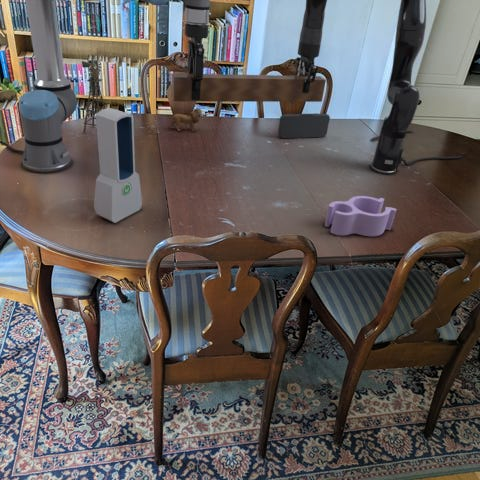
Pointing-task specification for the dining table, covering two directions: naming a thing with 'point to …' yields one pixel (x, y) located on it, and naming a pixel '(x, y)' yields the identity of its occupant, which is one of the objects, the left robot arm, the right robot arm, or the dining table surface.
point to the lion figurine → (187, 119)
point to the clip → (359, 216)
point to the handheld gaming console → (303, 125)
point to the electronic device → (116, 166)
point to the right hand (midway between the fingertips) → (302, 90)
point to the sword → (378, 137)
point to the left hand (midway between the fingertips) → (194, 96)
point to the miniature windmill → (94, 75)
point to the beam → (247, 88)
